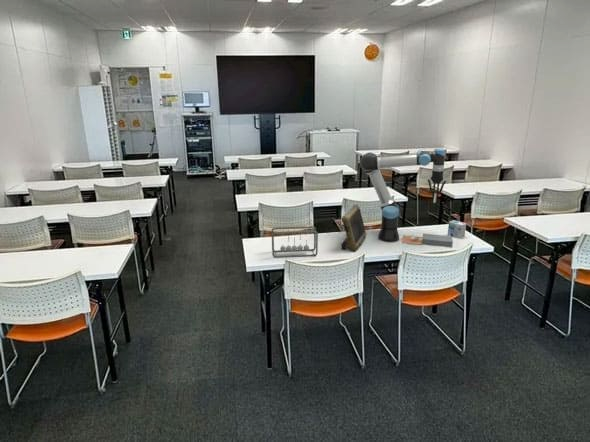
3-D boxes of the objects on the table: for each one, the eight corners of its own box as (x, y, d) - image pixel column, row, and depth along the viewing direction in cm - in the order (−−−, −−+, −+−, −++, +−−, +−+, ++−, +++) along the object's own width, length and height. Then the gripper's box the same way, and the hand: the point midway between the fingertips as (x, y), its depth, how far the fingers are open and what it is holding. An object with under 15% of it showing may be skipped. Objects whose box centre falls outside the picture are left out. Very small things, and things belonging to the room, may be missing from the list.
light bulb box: (447, 235, 302) (448, 221, 299) (451, 233, 306) (452, 219, 303) (460, 238, 294) (462, 225, 291) (464, 236, 299) (466, 223, 295)
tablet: (359, 252, 270) (361, 217, 263) (339, 250, 274) (340, 216, 267) (366, 236, 300) (368, 204, 292) (348, 235, 304) (349, 203, 296)
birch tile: (410, 241, 289) (410, 238, 289) (411, 238, 295) (411, 236, 294) (422, 242, 287) (422, 239, 286) (422, 239, 292) (422, 237, 292)
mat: (401, 243, 287) (401, 242, 287) (403, 235, 301) (403, 235, 301) (422, 245, 283) (422, 244, 283) (422, 237, 297) (422, 237, 297)
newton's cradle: (315, 250, 275) (315, 225, 270) (317, 256, 265) (317, 231, 260) (272, 251, 273) (271, 227, 267) (272, 258, 263) (271, 232, 258)
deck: (422, 244, 285) (422, 239, 283) (422, 238, 296) (422, 233, 294) (452, 247, 279) (452, 241, 278) (451, 241, 290) (451, 236, 288)
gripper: (428, 170, 283) (425, 203, 290) (447, 171, 279) (444, 204, 287) (428, 169, 290) (425, 200, 297) (447, 170, 286) (443, 201, 293)
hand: (434, 202), depth 292 cm, fingers closed
